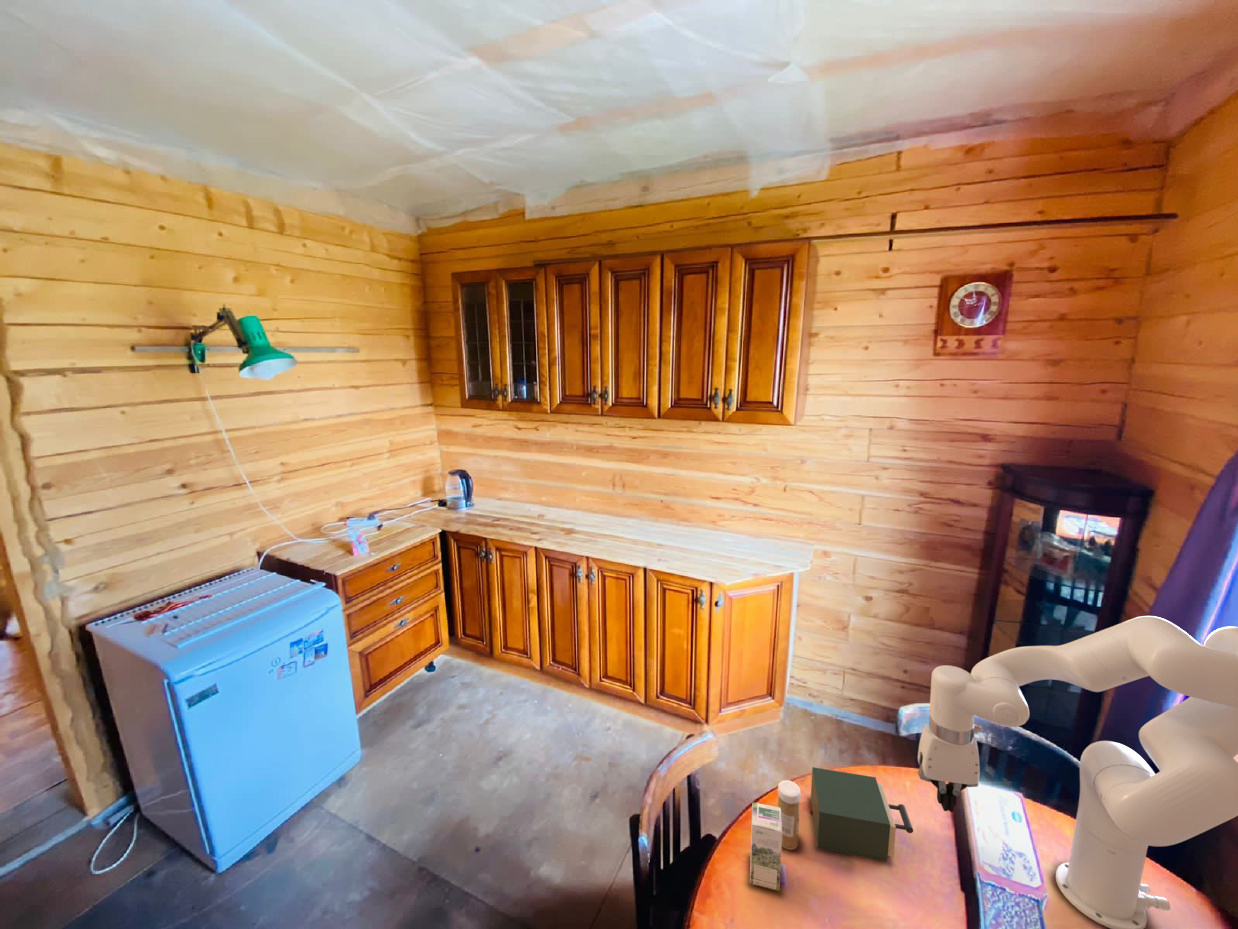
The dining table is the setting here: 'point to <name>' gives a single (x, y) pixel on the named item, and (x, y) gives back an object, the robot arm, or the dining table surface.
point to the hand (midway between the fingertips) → (945, 806)
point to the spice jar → (789, 812)
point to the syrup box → (766, 846)
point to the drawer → (893, 826)
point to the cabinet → (849, 814)
